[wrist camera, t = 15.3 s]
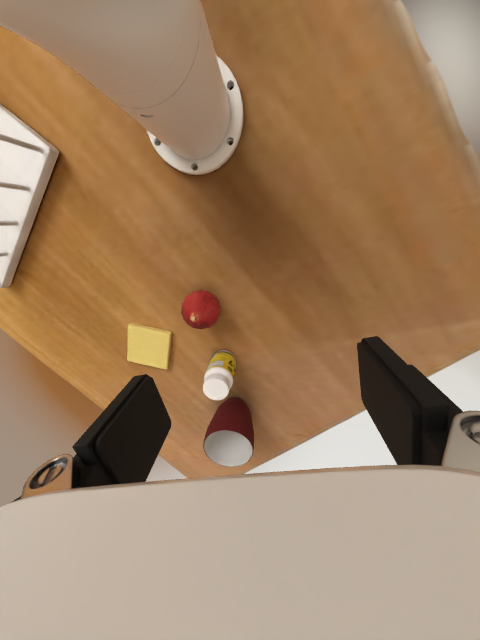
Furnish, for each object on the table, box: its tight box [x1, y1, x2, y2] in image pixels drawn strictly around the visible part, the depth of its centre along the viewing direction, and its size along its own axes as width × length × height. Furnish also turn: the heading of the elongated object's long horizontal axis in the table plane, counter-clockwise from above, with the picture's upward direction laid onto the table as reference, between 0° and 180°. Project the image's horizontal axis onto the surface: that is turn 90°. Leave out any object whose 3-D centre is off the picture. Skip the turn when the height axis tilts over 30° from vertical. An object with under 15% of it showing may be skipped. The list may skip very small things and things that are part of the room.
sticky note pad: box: [127, 323, 172, 370], centre depth 43 cm, size 8×8×1 cm
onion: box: [182, 290, 220, 329], centre depth 36 cm, size 6×6×8 cm
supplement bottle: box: [203, 350, 237, 400], centre depth 39 cm, size 5×5×8 cm
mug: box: [203, 397, 254, 467], centre depth 42 cm, size 11×8×10 cm
